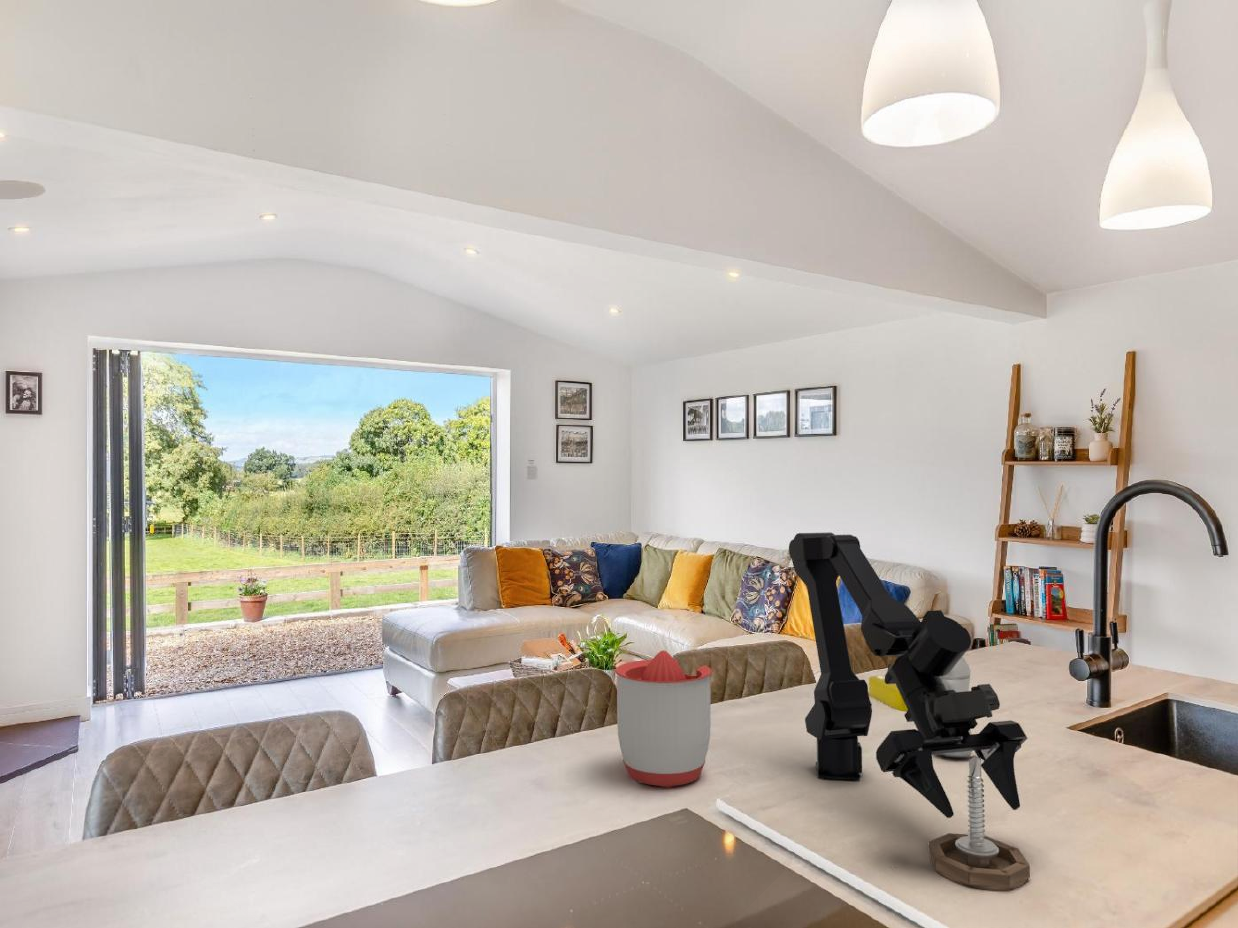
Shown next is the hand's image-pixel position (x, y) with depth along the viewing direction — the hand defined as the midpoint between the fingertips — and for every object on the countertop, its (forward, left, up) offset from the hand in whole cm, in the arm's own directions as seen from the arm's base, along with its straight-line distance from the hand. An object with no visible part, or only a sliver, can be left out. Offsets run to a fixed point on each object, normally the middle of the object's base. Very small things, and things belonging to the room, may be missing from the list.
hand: (984, 812), depth 94 cm
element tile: (+5, +79, -8) cm, 80 cm away
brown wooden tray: (-1, +1, -7) cm, 7 cm away
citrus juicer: (-42, +26, -7) cm, 50 cm away
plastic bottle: (+5, +43, -7) cm, 44 cm away
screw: (-1, +1, -7) cm, 7 cm away
